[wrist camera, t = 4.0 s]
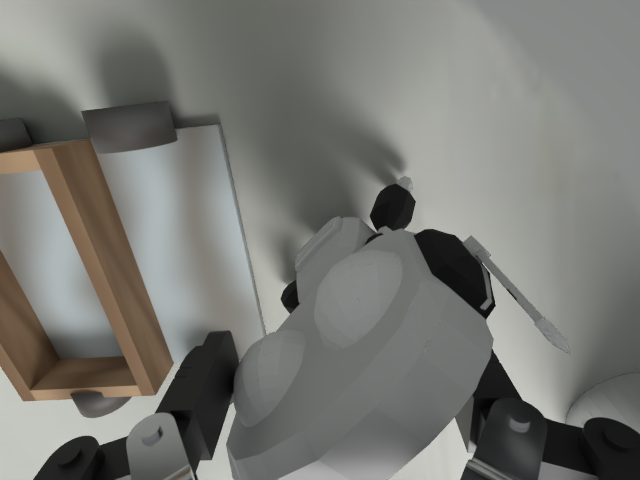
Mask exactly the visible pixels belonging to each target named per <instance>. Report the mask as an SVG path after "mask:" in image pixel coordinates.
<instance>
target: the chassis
mask: <svg viewBox="0 0 640 480" xmlns="http://www.w3.org/2000/svg"><path fill="white" fill-rule="evenodd" d="M81 112H82V115H83V118H84V121H85V123H86V126H87V129H88V131H89V134H90V137H91V138H86V139H77V140H68V141H59V142H50V143H41V144H32V142H31V140H30V138H29V135H28V133H27V131H26V129H25V126H24V124H23V122H22V119H21V118H18V119H9V120H1V121H0V366H1V368H2V369H3V371H4V372H5V374H6V375H7V377H8V378H9V380H10V382H11V383H12V385H13V386H14V388H15V389H16V391H17V392H18V394H19V395H20V397H21V398H22V400H23V401H40V400H62V399H73V401H74V403H75V404H76V406H77V408H78V410H79V411H80V413H81V414H82V415H83V416H84V417H87V418H97V417H101V416H104V415H107V414H109V413H112V412H114V411H115V410H117V409H119V408H120V407H121V406H123V405H124V404H125V403H126V402H127V401H128V400H129V399H130V398H131V397H132V396H150V395H156V394H157V392H158V390H159V388H160V387H161V385H162V383H163V381H164V380H165V378H166V376H167V374H168V373H169V371H170V369H171V368H172V366H173V364H174V363H182V362H183V360H184V358H185V356H186V355H187V354H188V353H189V352H190V351H191V350H192V349H193V348H194V347H196V346H202V345H203V343H204V341H205V339H206V337H207V335H208V333H209V332H211V331H226V330H229V331H231V333H232V336H233V340H234V344H235V347H236V351H237V355H238V359H239V360H242V358H243V357H244V355H245V353H246V352H247V350H248V349H249V348H250V347H251V345H252V344H254V343H255V342H257V341H258V340H260V339H262V338H263V337H265V336H266V332H265V327H264V323H263V318H262V313H261V309H260V304H259V299H258V295H257V290H256V286H255V281H254V276H253V272H252V267H251V262H250V258H249V253H248V248H247V244H246V239H245V235H244V230H243V225H242V221H241V216H240V211H239V207H238V202H237V198H236V193H235V188H234V184H233V179H232V174H231V170H230V165H229V160H228V156H227V151H226V147H225V142H224V137H223V133H222V128H221V124H213V125H204V126H195V127H186V128H177V129H175V127H174V124H173V120H172V116H171V113H170V109H169V105H168V101H162V102H154V103H145V104H137V105H128V106H120V107H111V108H103V109H94V110H86V111H81ZM233 402H234V401H233V395H232V398H231V402H230V404H232V403H233Z"/></svg>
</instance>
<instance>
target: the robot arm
mask: <svg viewBox="0 0 640 480" xmlns="http://www.w3.org/2000/svg"><path fill="white" fill-rule="evenodd" d="M238 365H239V359H238V355H237V351H236V347H235V344H234V340H233V336H232V333H231V331H229V330H226V331H211V332H209V333H208V335H207V337H206V339H205V341H204V343H203V345H202V346H196V347H194V348H193V349H192V350H191V351H190V352H189V353H188V354H187V355H186V356H185V358H184V360H183V362H182V364H181V366H180V369H178V371H177V373H176V375H175V379H173V381H172V382H171V384H170V386H169V388H168V390H167V392H166V394H165V395H164V397H163V399H162V401H161V403H160V405H159V407H158V408H157V410H156V412H155V414H153V415H150V416H148V417H146V418H145V419H143V420H142V421H140V422H139V423H138V424H137V425H136V426H135V427H134V428H133V429H132V430H131V432H130V434H129V435H128V436H127V437H124V438H121V439H118V440H115V441H112V442H109V443H106V444H103V445H99V443H98V442H97V440H96V439H95V438H94V437H92V436H81V437H78V438H75V439H72V440H71V441H69V442H67V443H65V444H64V445H62V446H61V447H60V448H58V449H57V450H56V451H55V452H54V453H53V454H52V455H51V456H50V457H49V459H48V460H47V461H46V463H45V464H44V465H43V467H42V468H41V469H40V471H39V472H38V474H37V475H36V476H35V478H34V479H33V480H199V479H198V476H197V474H196V470H197V467H198V464H199V461H200V460H212V458H213V455H214V451H215V448H216V445H217V442H218V439H219V436H220V433H221V430H222V426H223V423H224V420H225V417H226V414H227V411H228V408H229V405H230V402H231V398H232V395H233V391H234V376H235V372H236V369H237V367H238ZM455 419H456V422H457V424H458V427H459V430H460V433H461V435H462V438H463V441H464V444H465V447H466V449H467V452H468V453H474V455H473V458H472V460H468V462H467V464H466V466H465V469H464V471H463V474H462V477H461V479H460V480H640V373H631V374H625V375H621V376H617V377H614V378H611V379H608V380H606V381H604V382H602V383H599V384H597V385H595V386H594V387H592V388H591V389H589V390H588V391H586V392H585V393H584V394H582V395H581V396H580V397H579V398H578V399H577V400H576V401H575V402H574V404H573V405H572V406H571V408H570V410H569V412H568V414H567V417H566V424H563V423H559V422H555V421H552V420H549V419H547V418H545V417H544V416H543V415H542V414H541V412H540V411H539V410H538V409H536V408H535V407H534V406H532V405H531V404H529V403H527V402H525V401H523V400H522V398H521V397H520V395H519V393H518V392H517V390H516V388H515V387H514V385H513V383H512V382H511V380H510V378H509V376H508V375H507V373H506V371H505V370H504V368H503V366H502V365H501V363H499V360H498V358H497V356H496V355H495V353H494V351H493V349H492V351H491V357H490V360H489V362H488V364H487V366H486V368H485V370H484V372H483V374H482V376H481V378H480V380H479V383H478V386H477V389H476V390H475V391H474V393H473V394H472V395H471V397H470V398H469V399H468V401H467V402H466V403H465V405H464V406H463V407H462V409H461V410H460V411H459V413H458V414H457V415H456V416H455Z"/></svg>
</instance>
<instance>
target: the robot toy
mask: <svg viewBox="0 0 640 480" xmlns="http://www.w3.org/2000/svg"><path fill="white" fill-rule="evenodd" d="M412 189H413V186H412V181H411V179H410V178H409V177H406V176H404V177H402V178H401V179H400V180H399V181H398V182H397V183H395V184H393V185H390V186H387V187H386V188H384V189H383V190H382V191H380V193H379V195H378V197H377V198H376V201H375V204H374V206H373V209H372V212H371V214H370V218H371V220H372V223H373V225H374V227H375V229H376V230H377V233H376V232H375V231H373V230H372V229H371V228H370V227H369V226H368V225H367V224H365V223H364V222H363V221H362V220H361V219H359V218H357V217H344V218H341V217H340V216H337V217H336V218H335V217H334V218H332V219H331V220H330V221H329V222H327V223H326V224H325V225H324V226H323V227H322V228H321V229H320V230H319V231H318V232H317V233H316V234H315V235H314V236H313V237H312V238H311V240H310V241H309V242H308V243H307V244H306V245H305V246H304V247H303V248H302V250H301V251H300V252H299V253H298V254H297V256H296V260H295V270H296V271H297V280H295V281H293V282H292V283H290V284H289V285H288V286H287V287H286V288H285V290H284V291H283V294H282V297H281V301H282V303H283V305H284V307H285V308H286V309H287V310H288V312H289V313H290V315H289V317H288V318H287V319H286V320H285V321H284V323H283V324H282V325H281V326H280V327H279V329H278V330H277V331H276V332H272V333H270V334H268V335H266V336H265V337H263V338H262V339H260V340H258V341H257V342H255V343H254V344H252V345H251V347H250V348H249V349H248V350H247V352H246V353H245V355H244V357H243V358H242V360H241V361H240V363H239V365H238V367H237V369H236V372H235V376H234V391H233V401H234V406H235V409H236V415H235V418H234V421H233V424H232V428H231V431H230V434H229V437H228V440H227V443H226V447H227V452H228V457H229V461H230V466H231V471H232V476H233V479H234V480H388V479H389V478H391V477H392V476H393V475H394V474H395V473H396V472H398V471H399V470H400V469H401V468H402V467H403V466H405V465H406V464H407V463H408V462H409V461H410V460H412V459H413V458H414V457H415V456H416V455H417V454H419V453H420V452H421V451H422V450H423V449H424V448H426V447H427V446H428V445H429V444H430V443H431V442H432V441H433V440H434V439H435V438H436V437H437V435H438V434H439V433H440V432H441V431H442V430H443V429H444V428H445V427H446V426H447V425H448V424H449V423H450V421H451V420H452V419H453V418H454V417H455V416H456V415H457V414H458V413H459V411H460V410H461V409H462V407H463V406H464V405H465V403H466V402H467V401H468V399H469V398H470V397H471V395H472V394H473V393H474V391H475V390H476V389H477V386H478V383H479V380H480V378H481V376H482V374H483V372H484V370H485V368H486V366H487V364H488V362H489V360H490V357H491V351H492V345H493V340H494V339H493V337H492V335H491V333H490V330H489V328H488V326H487V324H486V319H487V317H488V316H489V315H490V313H491V312H492V310H493V309H494V307H495V306H496V305H495V300H494V296H493V291H492V287H491V280H490V273H489V272H488V270H487V269H486V268H485V267H484V265H483V264H482V262H483V263H484V264H485V266H486V267H487V268H488V269H489V270H490V271H491V272H492V274H493V275H494V276H495V277H496V278H497V279H498V280H499V282H500V283H501V284H502V285H503V286H504V287H505V288H506V290H507V291H508V292H509V293H510V294H511V295H512V296H513V297H514V299H515V300H516V301H517V302H518V303H519V304H520V305H521V307H522V308H523V309H524V310H525V311H526V312H527V313H528V315H529V316H530V317H531V318H532V319H533V320H534V321H535V326H536V327H537V328H538V329H539V330H540V331H541V333H542V334H543V335H544V336H545V337H546V338H547V339H548V341H550V342H551V343H552V344H553V345H555V346H556V347H557V348H559V349H561V350H563V351H565V352H567V353H569V354H570V351H569V347H568V343H567V340H566V339H565V337H564V336H563V335H562V334H561V333H560V332H559V331H558V330H557V329H556V328H555V327H554V326H553V325H552V323H550V322H549V321H548V320H547V319H546V318H545V317H543V316H542V315H541V314H540V313H539V312H538V311H537V310H536V309H535V308H534V307H533V305H532V304H531V303H530V302H529V301H528V300H527V299H526V298H525V297H524V296H523V295H522V293H521V292H520V291H519V290H518V289H517V288H516V287H515V286H514V285H513V284H512V283H511V281H510V280H509V279H508V278H507V277H506V276H505V275H504V274H503V273H502V272H501V271H500V269H499V268H498V267H497V266H496V265H495V264H494V263H493V262H492V261H491V260H490V259H489V257H490V256H491V255H490V254H489V253H488V251H487V250H486V249H485V248H484V247H483V246H482V245H481V244H480V243H479V242H478V241H477V240H476V239H475V238H473V237H472V236H470V237H469V238H468V239H466V240H465V241H464V242H462V241H460V240H459V239H458V238H457V237H456V236H455V235H451V234H447V233H444V232H441V231H437V230H434V229H425V230H423V231H421V232H419V233H417V234H416V233H412V232H408V231H405V230H403V229H405V228H406V227H407V226H408V224H409V223H410V222H411V219H412V215H413V211H414V207H415V203H416V201H415V200H414V198H413V197H412V195H411V194H410V192H411V190H412Z"/></svg>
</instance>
